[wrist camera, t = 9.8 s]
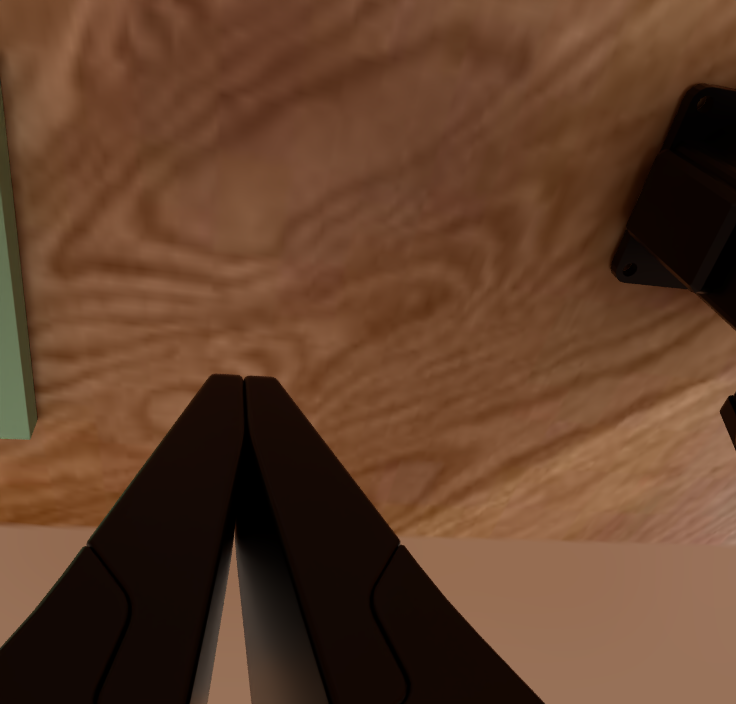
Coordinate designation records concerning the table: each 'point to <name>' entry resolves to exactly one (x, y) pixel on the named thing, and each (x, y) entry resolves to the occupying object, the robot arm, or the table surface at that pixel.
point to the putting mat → (12, 316)
